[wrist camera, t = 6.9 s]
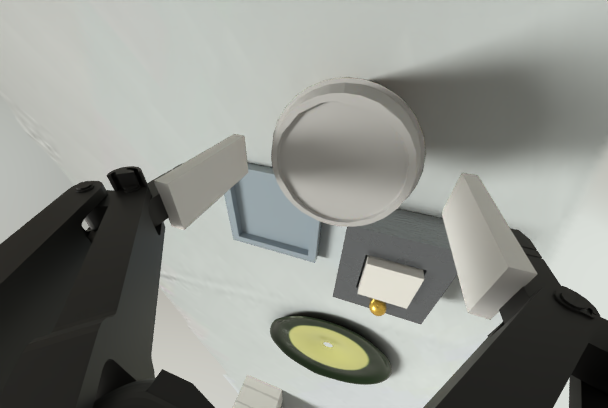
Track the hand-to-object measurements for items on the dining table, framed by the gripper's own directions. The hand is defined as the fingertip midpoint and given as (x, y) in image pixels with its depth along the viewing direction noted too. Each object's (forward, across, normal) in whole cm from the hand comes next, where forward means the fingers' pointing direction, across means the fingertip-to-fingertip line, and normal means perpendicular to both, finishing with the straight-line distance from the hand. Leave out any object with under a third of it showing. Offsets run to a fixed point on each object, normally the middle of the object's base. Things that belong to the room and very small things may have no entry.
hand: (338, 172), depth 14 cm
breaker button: (+11, +7, -16) cm, 21 cm away
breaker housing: (+12, +7, -16) cm, 21 cm away
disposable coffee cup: (+12, 0, +1) cm, 12 cm away
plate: (+13, +2, -51) cm, 53 cm away
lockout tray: (+12, -10, -14) cm, 21 cm away
